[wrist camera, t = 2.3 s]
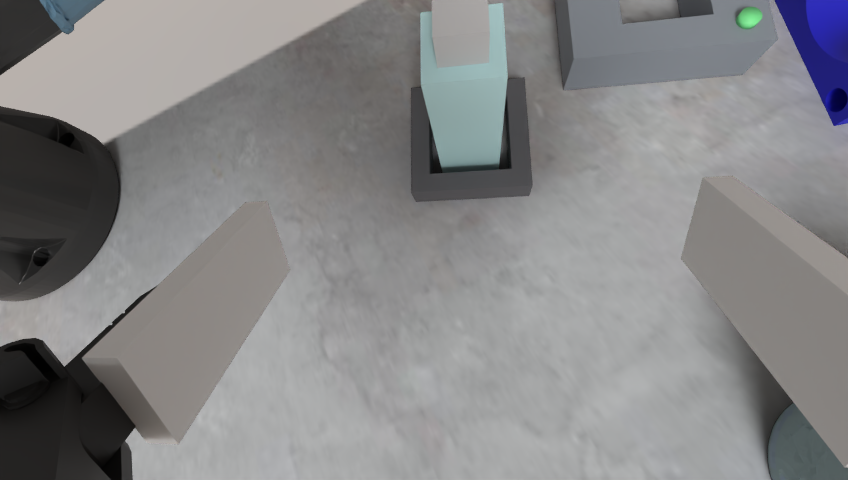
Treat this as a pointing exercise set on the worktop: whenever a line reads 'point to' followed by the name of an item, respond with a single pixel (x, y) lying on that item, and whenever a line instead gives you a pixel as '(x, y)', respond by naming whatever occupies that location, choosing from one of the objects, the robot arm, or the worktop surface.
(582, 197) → the worktop surface
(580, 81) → the block
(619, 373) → the worktop surface
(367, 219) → the worktop surface
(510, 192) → the frame
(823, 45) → the cable clip
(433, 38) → the capped teal pillar
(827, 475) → the grey-green tumbler cup
